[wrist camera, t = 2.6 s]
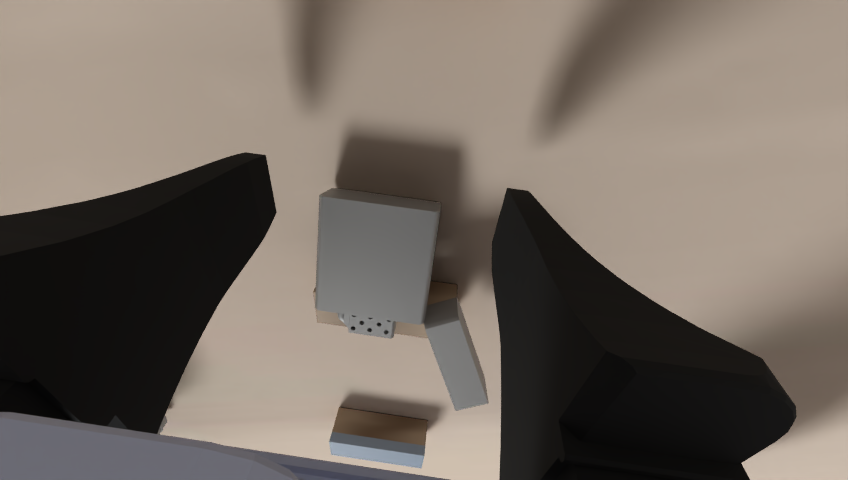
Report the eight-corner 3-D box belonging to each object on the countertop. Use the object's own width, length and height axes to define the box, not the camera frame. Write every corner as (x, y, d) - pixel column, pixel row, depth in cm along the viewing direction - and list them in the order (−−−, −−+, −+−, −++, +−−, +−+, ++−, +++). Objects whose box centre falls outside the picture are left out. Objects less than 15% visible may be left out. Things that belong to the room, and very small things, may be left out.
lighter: (333, 187, 14) (324, 365, 16) (317, 195, 12) (310, 392, 15) (519, 213, 14) (482, 388, 16) (529, 225, 12) (486, 418, 14)
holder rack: (545, -118, 8) (565, -137, 7) (424, 433, 26) (421, 468, 24) (284, -150, 8) (235, -176, 7) (340, 421, 26) (331, 454, 24)
